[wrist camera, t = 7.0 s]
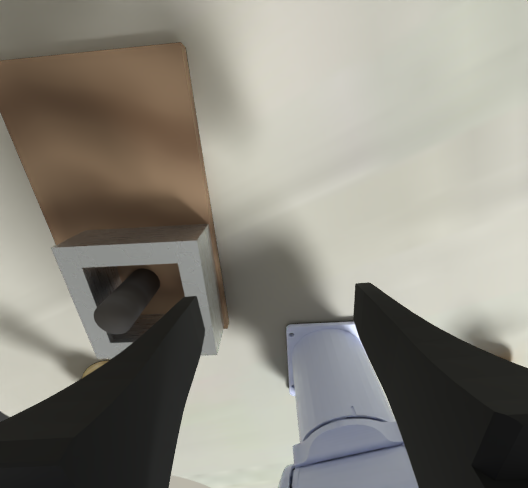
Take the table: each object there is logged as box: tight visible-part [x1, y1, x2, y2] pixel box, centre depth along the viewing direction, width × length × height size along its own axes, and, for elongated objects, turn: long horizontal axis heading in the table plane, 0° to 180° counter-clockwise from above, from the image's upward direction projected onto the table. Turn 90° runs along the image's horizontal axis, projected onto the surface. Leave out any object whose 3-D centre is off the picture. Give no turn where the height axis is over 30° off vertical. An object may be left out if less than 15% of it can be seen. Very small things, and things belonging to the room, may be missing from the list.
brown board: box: [0, 42, 229, 334], centre depth 18 cm, size 22×13×6 cm, turn 4°
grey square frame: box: [51, 224, 224, 359], centre depth 21 cm, size 10×10×4 cm
